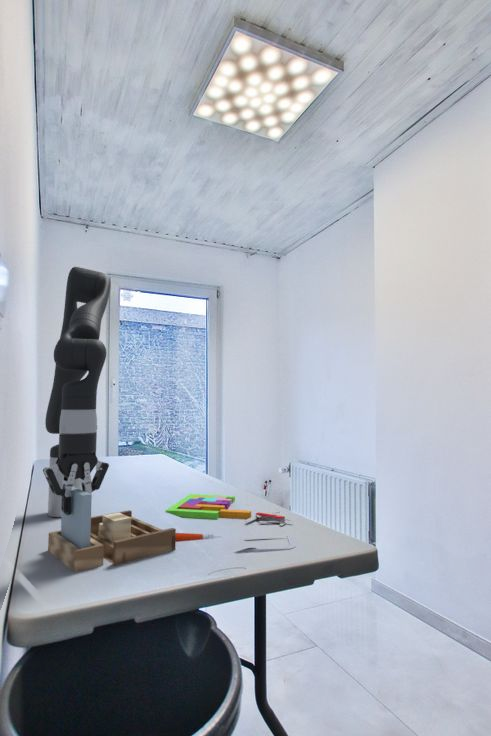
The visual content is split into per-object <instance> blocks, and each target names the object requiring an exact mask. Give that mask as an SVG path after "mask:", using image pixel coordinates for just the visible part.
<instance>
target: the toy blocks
mask: <svg viewBox="0 0 491 736" xmlns="http://www.w3.org/2000/svg"><path fill="white" fill-rule="evenodd" d="M234 501H235V502H236V495H224V494H223V495H222V494H221V495H220V494H219V495H218V494H202V493H201V494H198V493H197V494H196V493H190V494H188V495H187V496H185V497H183V498H182V499H181V500H179V501H178V502H176V503H174V504H173V505H171V506H169V507H168V508H167V509H165V513H166V514H170V515H174V516H175V517H179V518H188V519H205V520H206V519H207V520H218V519H219V518H223V519H224V518H228V519H244V520H246V519H249V518H251V517H252V510H246V509H245V510H241V509H229V507H231V506H232V505H233V503H232V502H234ZM235 502H234V503H235ZM231 504H232V505H231ZM230 505H231V506H230Z"/></svg>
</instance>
